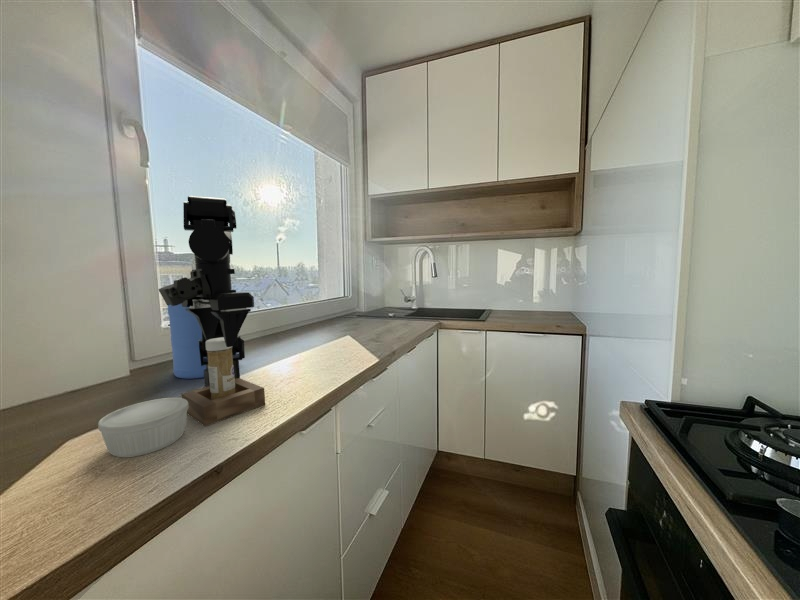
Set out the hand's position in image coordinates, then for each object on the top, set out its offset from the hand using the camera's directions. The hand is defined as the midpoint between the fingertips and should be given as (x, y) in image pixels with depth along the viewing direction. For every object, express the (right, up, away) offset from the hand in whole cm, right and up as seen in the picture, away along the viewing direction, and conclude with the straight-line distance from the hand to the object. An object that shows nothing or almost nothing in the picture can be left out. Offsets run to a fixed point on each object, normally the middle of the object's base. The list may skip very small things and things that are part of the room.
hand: (219, 344), depth 61 cm
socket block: (0, -13, +1) cm, 13 cm away
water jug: (-19, -12, +27) cm, 35 cm away
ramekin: (-5, -14, -11) cm, 19 cm away
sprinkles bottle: (0, -13, +1) cm, 13 cm away
